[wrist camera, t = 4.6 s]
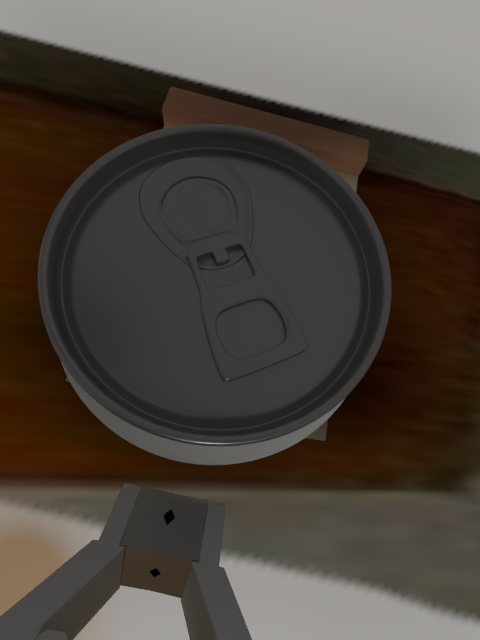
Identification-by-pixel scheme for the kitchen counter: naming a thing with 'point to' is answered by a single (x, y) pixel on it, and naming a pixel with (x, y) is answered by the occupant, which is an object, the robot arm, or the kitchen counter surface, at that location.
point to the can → (213, 291)
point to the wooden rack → (324, 143)
